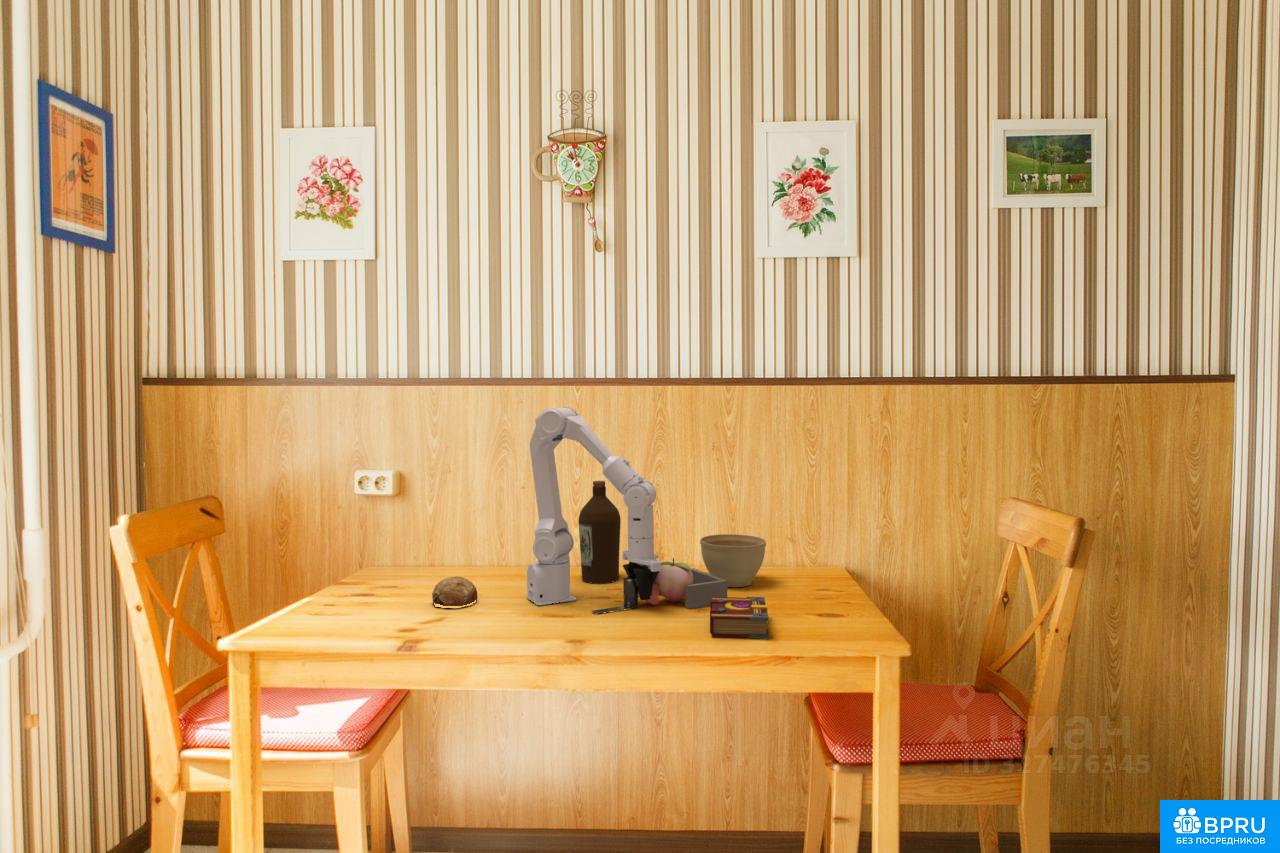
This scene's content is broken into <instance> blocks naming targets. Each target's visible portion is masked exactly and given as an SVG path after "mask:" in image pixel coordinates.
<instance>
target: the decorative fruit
mask: <svg viewBox="0 0 1280 853" xmlns="http://www.w3.org/2000/svg"><path fill="white" fill-rule="evenodd" d="M691 571H692V570H691V566H690V565H688V564H687V563H685V562H675V558H674V557H673V558H672V562H670V561H662V562H661V571H659V573H658V575H657V577H656V579H655V581H654V582H655V583H657V584H659V593H660V594H661V595H660V596H662V597H663V598H664V599H666V600H668V601H670V602H672V603H676V602H678V601H680V600H682V599H684V598H685V585H691V584H693V574H692V572H691Z"/></svg>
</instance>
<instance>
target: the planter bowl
mask: <svg viewBox="0 0 1280 853" xmlns="http://www.w3.org/2000/svg"><path fill="white" fill-rule="evenodd" d="M699 544H700V548H701V550H700V551H701V557H702V560H703V563H704V566H705V567H706V569H707V573H708V574H710V575H713V576H716V577H718V578H721V579H724V580H726V581H727V588H743V587H748V586H752V583H753V579H754V578H755V577H756V575H757V574H758V572H759V570H760V569H761V567H762V564H763V562H764V559H765V554H766V553H765V552H766V546H767V540H766V539H764V538H762V537H759V536H756V535H755V536H754V535H747V534H737V533H736V534H735V533H734V534H731V533H724V534H723V533H721V534H719V533H718V534H712V535H711V534H709V535H705V536H702V537H701V538H700V539H699Z"/></svg>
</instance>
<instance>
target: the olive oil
mask: <svg viewBox="0 0 1280 853" xmlns="http://www.w3.org/2000/svg"><path fill="white" fill-rule="evenodd" d="M592 485H593V486H592V496H591V498H590V499H589V500H588V501H587V502H586V503H585V505H584V506H583V507H582V508H581V510H580V513H579V516H578V532H579V534H578V535H579V549H580V564H581V565H580V568H581V581H582V582H584V581H586V582H585V583H587V582H592V583H591V584H595V583H602V584H607V583H606V582H611V583H613V582H612V581H615V582H617V581H618V580H619V578H620V546H621V545H620V544H621V543H620V542H621V541H620V540H621V523H622V522H621V515H620V511H619V510H618V508H617V506H616V505H615V504H614V503H613V502H612V501H611V500H610V499H609V498H608V496H607V495H606V494H607V493H606V492H607V487H606V481H605V480H593V481H592ZM616 580H617V581H616Z"/></svg>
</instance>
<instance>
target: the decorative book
mask: <svg viewBox="0 0 1280 853" xmlns="http://www.w3.org/2000/svg"><path fill="white" fill-rule="evenodd" d="M768 622H770V616H769V614H768V605H767V604H766V598H765V596H746V597H737V596H735V597H732V596H731V597H730V596H727V597H712V599H711V602H710V606H709V633H710V636H711V637H715V638H716V637H717V638H719V637H720V638H721V637H722V638H724V637H725V638H749V639H753V640H754V639H755V640H756V639H757V640H759V639H762V640H769V639H770V633H769V630H768Z"/></svg>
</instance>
